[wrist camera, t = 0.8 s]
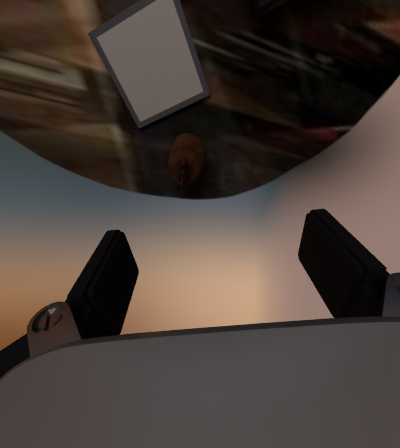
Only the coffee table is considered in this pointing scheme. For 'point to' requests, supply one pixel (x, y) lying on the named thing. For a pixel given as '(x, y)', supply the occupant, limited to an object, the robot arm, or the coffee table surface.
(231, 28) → the coffee table surface
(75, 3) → the coffee table surface
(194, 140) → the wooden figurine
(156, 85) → the card
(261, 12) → the portable cd player
